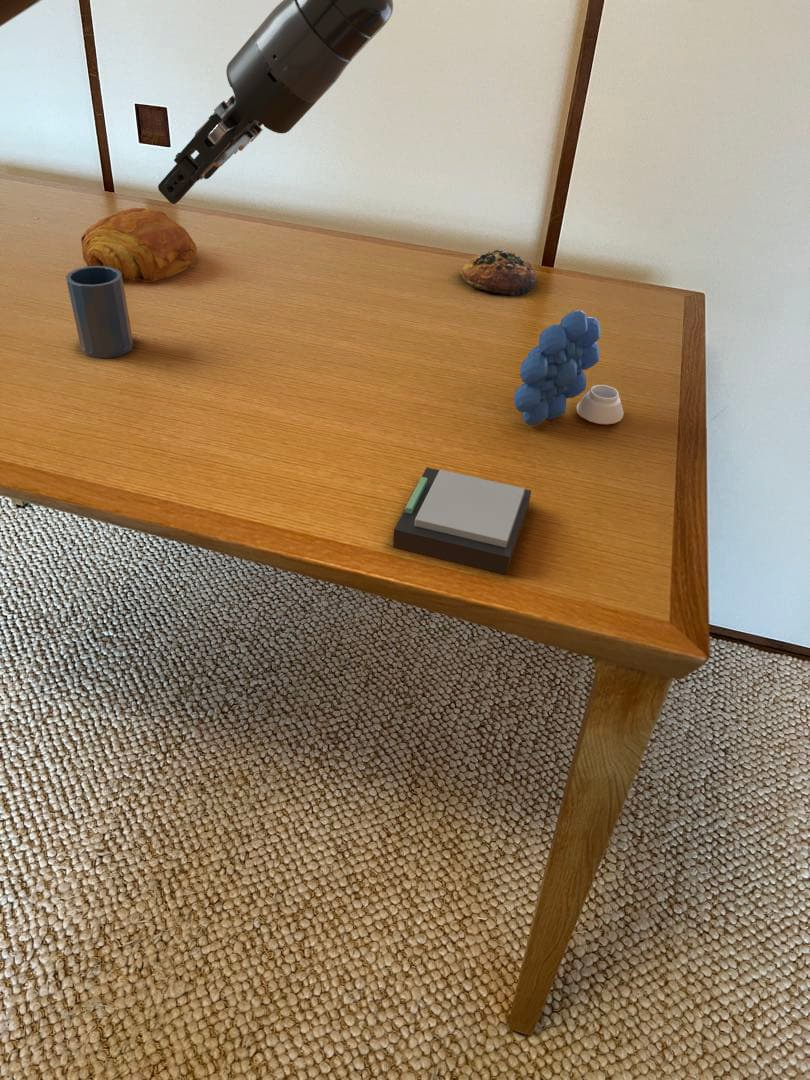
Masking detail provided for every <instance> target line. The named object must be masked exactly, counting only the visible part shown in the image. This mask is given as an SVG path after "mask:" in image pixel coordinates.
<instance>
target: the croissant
mask: <svg viewBox="0 0 810 1080" xmlns="http://www.w3.org/2000/svg"><path fill="white" fill-rule="evenodd" d="M80 240H81V251H82V258H83V260H84V263H85V265H86V267H89V266H106V267H111V268H115V269H117V270H119V271H120V272H121V274H122V278H123V280H124V279H127V280H129V281H136V280H139V282H143V283H149V282H156V281H159V280H161V279H168V278H172V277H173V276H175V275H178V274H179V273H181V272H184V271H186V270H187V269H188V267H189V266H191V265H192V264H193V262H194V261H195V260H196V256H197V254H198V247H197V244H196V242H195V241H194V240H193V239H192V237H191V235H190V234H189V232H188V231H187V230H186V229H185V227H183V226H181V225H180V224H179V223H178V222H176V221H175V220H173V219H171V218H170V217H168V215H167V214H166V213H165V212H163V211H160V210H159V211H158V210H157V211H156V210H153V209H148V208H144V207H131V208H127V209H122V210H118V211H115V212H113V213H111V214H110V215H108V216H106V217H103V218H101V219H99V220H98V221H97V222H96V223H94V224H92V225H91V226H90V227H89V228H87V229H86V231H85V232H84V233H83V234H82V235H81V239H80Z"/></svg>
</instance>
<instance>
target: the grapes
mask: <svg viewBox="0 0 810 1080" xmlns="http://www.w3.org/2000/svg"><path fill="white" fill-rule="evenodd" d="M600 338H601V325H600V321H599V320H598V319H597V318H596V317H594V316H587V314H586V312H584V311H583V310H581V309H579V310H578V309H576V310H573V311H571V312H569V313H567V314H566V315H564V316H563V317H562V318H561V320H560V323H558V324H552V325H550V326H548V327H546V328H544V329H543V330H542V331H541V333H540V334H539V337H538V345H537V346H534V347H533V348H532V349H530V350H529V352H527V356H526V358H525V359H524V360H522V361H521V364H520V367H519V368H520V371H519V372H520V373H519V376H520V379H521V382H522V383H523V384H521V385H519V386H518V387H517V388H516V389H515V392H514V395H513V405H514V407H515V410H517V411H518V412H520V413H521V414H522V416H521V417H522V419H523V422H524V424H526V425H528V426H537V425H539V424H540V423H542V422H544V421H545V420H547V421H549V420H555V419H558V418H559V417H560V416H562V415H563V414H564V413H566V410H567V399H573V398H576V397H578V396H579V395H581V394H582V393H584V392H585V391H586V387H587V377H586V374H585V371H586V370H589V369H590V368H592V367H594V366H595V365H596V364H598V363H599V362H600V347H599V344H598V342H597V341H599V339H600Z"/></svg>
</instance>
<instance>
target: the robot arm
mask: <svg viewBox="0 0 810 1080" xmlns="http://www.w3.org/2000/svg"><path fill="white" fill-rule="evenodd" d="M42 1H43V0H0V28H1V27H3V26H5V25H6V24H7V23H9V22H10V21H12V20H13V19H15V18H17V17H18V16H20V15H21V14H23V13H25V12H26V11H28V10H30V9H31V8H33V7H35V6H36V5H37V4H39V3H40V2H42ZM393 11H394V0H282V1H281V2H280V3H278V5H276V6H275V8H273V9H272V10H271V12H270V13H269V14H268V15H267V17H265V18H264V20H263V21H262V22H261V23H260V25H259V26H258V27H257V29H256V30H255V31H254V32H253V33H252V35H251V36H250V37H249V38H248V39H247V41H246V42H245V43H244V44H243V45H242V47H241V48H240V49H239V50H238V51H237V52H236V54H235V55H234V56H233V57H232V58H231V60H230V61H229V62H228V64H227V65H226V73H225V74H226V78H227V82H228V84H229V87H230V88H231V89H232V92H233V95H231V96H230V97H229V98H228V99H227V100H226V101H225V100H222V101H221V102H220V103H219V104H218V105H217V106H216V107H215V108H214V109H213V111H212V114H211V115H210V116H209V117H208V119H207V120H206V121H205V122H204V123H203V124H202V126H200V127H199V128H198V129H197V130H196V131H195V132H194V134H193V138H191V140H190V141H189V142H188V143H187V144H186V145H185V146H184V147H183V149H182V150H181V151H180V152H178V153H177V154H176V155H175V158H174V159H173V161H174V163H176V164H175V165H174V166H173V167H172V168H171V170H169V172H168V173H167V175H165V176H164V177H163V179H162V180H161V181H160V182H159V183H158V185H157V189H158V191H159V192H160V193H161V195H162V196H163V197H164V198H165V199H166V200H167V201H168V202H169V203H170V204H172V205H175V204H177V203H179V202H180V201H181V200H182V198H183V197H185V195H186V194H187V193H188V192H189V191H190V190H191V189H192V187H193V186H194V185H195V184H197V182H199V181H201V180H202V179H204V180H208V179H210V178H211V177H212V176H213V175H214V174H215V173H216V172H217V171H218V169H220V168H221V167H222V166H223V165H224V164H225V163H227V161H228V160H229V159H230V158H231V157H233V155H236V154H237V153H238V152H242V151H243V150H244V149H246V147H247V146H248V145H249V144H250V143H252V142H254V141H255V140H256V138H257V137H259V136H260V135H261V134H262V133H263V131H264V129H263V128H262V126H263V127H264V128H266V129H267V130H269V131H271V132H273V133H276V134H287V133H289V132H290V131H291V130H292V129H293V128H294V127H295V125H296V124H298V123H299V122H300V121H301V120H302V118H303V117H304V116H305V115H306V114H307V113H309V111H310V110H311V109H312V108H313V106H315V104H316V103H317V102H318V101H319V100H320V99H321V98H322V97H323V96H324V95H325V94H326V93H327V92H328V91H329V90H330V89H331V88H332V86H333V85H335V84H336V82H337V81H338V79H340V77H341V76H342V74H343V73H344V71H345V70H346V69H347V67H348V65H349V64H350V63H351V62H352V60H354V59H355V58H356V57H357V56H358V54H359V53H360V52H361V51H362V50H363V49H364V48H365V47H366V46H367V45H368V44H369V43H370V42H371V41H372V39H373V38H374V37H375V36H376V35H378V33H379V32H381V30H382V29H383V28H384V27H385V26H386V25H387V23H388V22H389V20H391V17H392V15H393ZM196 151H197V153H198V154H197V155H196V156H195V157H193V154H194V153H195V152H196Z"/></svg>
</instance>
